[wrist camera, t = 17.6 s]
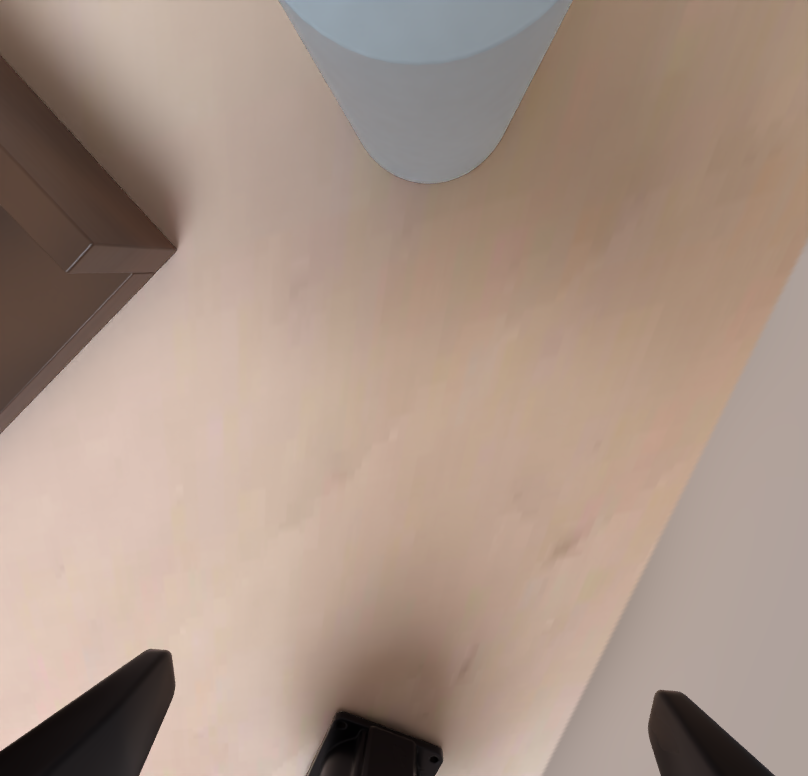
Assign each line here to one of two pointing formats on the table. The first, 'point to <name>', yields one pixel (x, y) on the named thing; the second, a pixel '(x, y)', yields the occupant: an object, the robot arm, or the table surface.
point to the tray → (59, 246)
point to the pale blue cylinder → (427, 73)
